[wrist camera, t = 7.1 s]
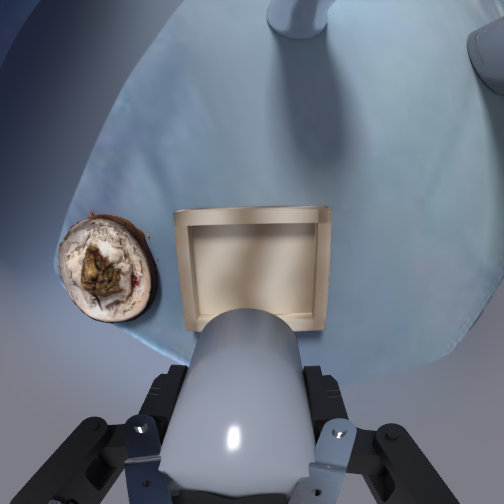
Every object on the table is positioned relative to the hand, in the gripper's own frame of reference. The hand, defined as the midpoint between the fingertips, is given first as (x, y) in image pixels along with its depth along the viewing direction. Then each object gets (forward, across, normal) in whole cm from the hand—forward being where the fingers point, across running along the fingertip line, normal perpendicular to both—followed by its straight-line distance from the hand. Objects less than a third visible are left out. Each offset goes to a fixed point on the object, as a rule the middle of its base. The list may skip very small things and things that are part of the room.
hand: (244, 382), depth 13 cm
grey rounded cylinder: (+2, 0, 0) cm, 2 cm away
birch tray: (+17, 0, 0) cm, 17 cm away
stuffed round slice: (+18, +16, 0) cm, 24 cm away
